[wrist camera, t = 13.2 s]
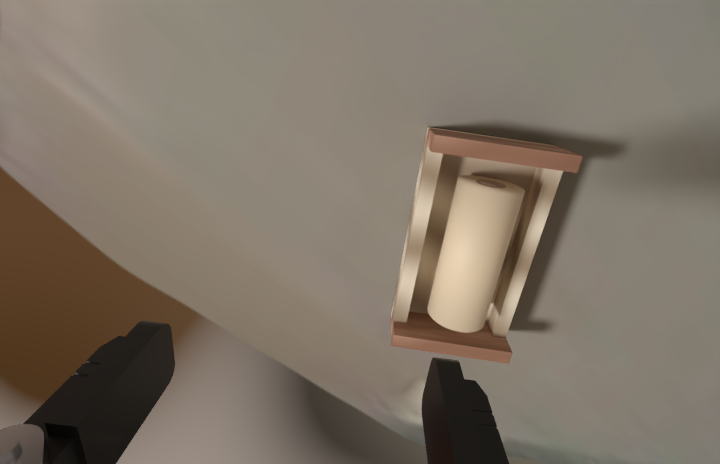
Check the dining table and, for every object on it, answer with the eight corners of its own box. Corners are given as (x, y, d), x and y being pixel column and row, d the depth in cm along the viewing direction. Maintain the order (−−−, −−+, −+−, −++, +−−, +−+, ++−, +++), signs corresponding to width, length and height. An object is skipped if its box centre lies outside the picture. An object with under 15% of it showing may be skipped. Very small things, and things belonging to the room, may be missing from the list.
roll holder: (427, 126, 31) (434, 134, 26) (554, 145, 31) (583, 156, 26) (391, 314, 38) (391, 345, 33) (494, 330, 37) (508, 363, 33)
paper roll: (452, 171, 31) (466, 188, 26) (511, 179, 31) (536, 197, 26) (423, 296, 36) (432, 329, 31) (475, 302, 36) (491, 336, 31)
